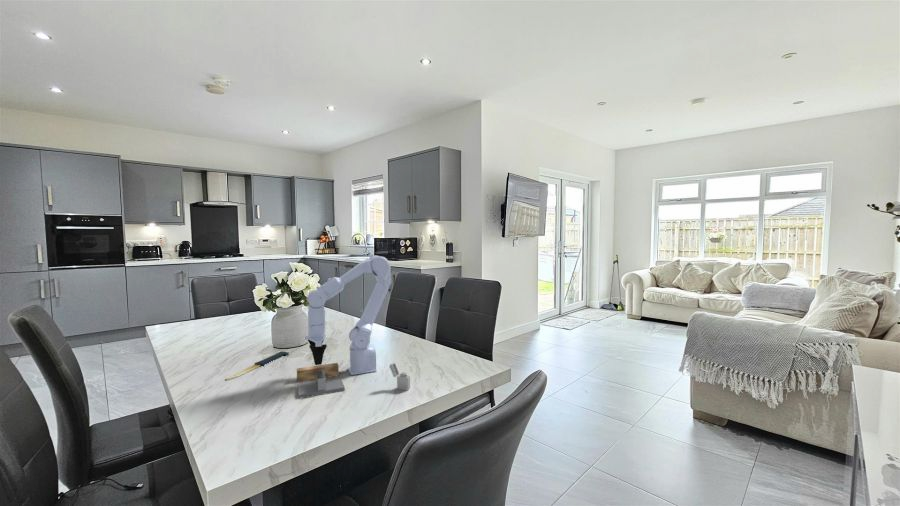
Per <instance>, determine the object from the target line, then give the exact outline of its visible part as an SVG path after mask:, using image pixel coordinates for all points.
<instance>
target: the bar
mask: <svg viewBox="0 0 900 506" xmlns="http://www.w3.org/2000/svg"><path fill="white" fill-rule="evenodd" d="M339 366H340V365H339V363H338V362H334V363H326V364H321V365H311V366H306V367H299V368H298V367H297V368H296V382H297V381H300V382H304V381H303V380H306V381H311V380H310V379H313V380H316V372H318V371H324V374H325V377H326V378H330V377H329V376H332V377H337V376H336V375H338V376H339V374H340V373H339V372H340V371H339Z"/></svg>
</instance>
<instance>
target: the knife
mask: <svg viewBox="0 0 900 506" xmlns="http://www.w3.org/2000/svg"><path fill="white" fill-rule="evenodd" d="M289 353H290V352H288V351H280V352H277V353H276V354H273V355H271V356H268V357H266V358H263V359H261V360H259V361H256V362H254V364H253V365H251V366H248V367H246V368H243V369H242V370H240V371H237V372H234V373H233V374H231V375H229V376H227V377H226V379H225V380H226V381H230V380H232V379H236V378H238V377H240V375H241V376H243V375H245V374H248V373H249V372H251V370H252V371H254V370H256V369H259V368H260V367H261V366H263V367H265V366H266V365H267V363H268V364H270V363H272V362H274V361H276V360H279V359H280V358H282V356H283V357H287V356H289V355H290V354H289ZM273 360H274V361H273ZM271 361H272V362H271ZM269 362H270V363H269ZM265 364H266V365H265ZM264 365H265V366H264Z"/></svg>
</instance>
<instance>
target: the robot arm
mask: <svg viewBox="0 0 900 506" xmlns="http://www.w3.org/2000/svg"><path fill="white" fill-rule="evenodd" d="M391 269H392V267H391V264H390V262H389V260H388V259H387V258H386V257H385V256H380V255H377V254H376V255H375V254H374V255H371V256H370V257H369V258H366V259H364V260H363V261H360V262H359V263H358V264H356V265H354V266H353V267H352V268H351V269H350V270H348V271H346V272H345V273H344V274H342V275H341V276H340V277H336V276H334V277H332V278H331V277H329V278H327V281H326V282H324V283H323V284H322V285H320V286H319V285H317V286H316V287H315V288H316V289H313V290H311V291H310V292H308V295H307V297H306V301H307V303H308V305H307V309H308V311H307V324H308V325H307V326H308V327H307V330H308V332H307V333H308V335H306V336H304V340H307V341H308V343H309V347H308V348H309V349H310V351H311V353H312V357H313V362H314V366H318V365H323V358H324V353H325V351H326V348H327V347H328V346H327V345H328V344H327V343H326V344H323V342H324V340H325V339H326V338H327V335H326V310H325V304H326V302H327V301H329V300H330V299H332V298H334V297H335V296H336V295H338V294H339V293H341V292H342V291H343V290H344V288H345V285H347V284H348V283H350V282H352V281H353V280H355V279H356V278H358V277H360V276H362V274H370V273H371V274H372V273H373V275H374V278H375V280H376V283H375V286H374V288H373V291H372V292H371V294H370V297H369V299H368V301H367V304H366V306H365V307H364V310H363V313H362V315H361V317H360V319H359V320H358V321H357V322H356V324H355V325H354V327H353V328H352V329H350V331H349V334H348V338H349V340H350V341H351V343H350V345H349V366H348V367H347V370H348V371H349V374H350V376H355V375H362V374H368V373H373V372H377V371H378V370H377V350H376V347H375V345H370V343H371V335H372V334H373V324H374V323H375V321H376V318H377V315H378V313H379V311H380V310H381V307H382V305H383V303H384V300H385V298H386V296H387V293H388V291H389V289H390V287H391V285H392V273H391Z"/></svg>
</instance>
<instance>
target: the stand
mask: <svg viewBox="0 0 900 506" xmlns="http://www.w3.org/2000/svg"><path fill="white" fill-rule="evenodd" d="M326 378H327V377H325V374H324V371H318V372H316V379H315V382H313V383H308V384H300V385H297V394H298V395H299V396H298V399H301V398H300V397H303V398H307V396H309V397H313V396H312V395H315V396H318V395H317V394H321V395H324V394H323V393H326V394H330V393H329V392H332V393H337V392H336V391H338V392H341V391H343V390H344V391H345V390H346V388H345V387H346V386H345V385H344V382H343V380H342V378H339V379H331V380H327V379H326Z"/></svg>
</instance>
